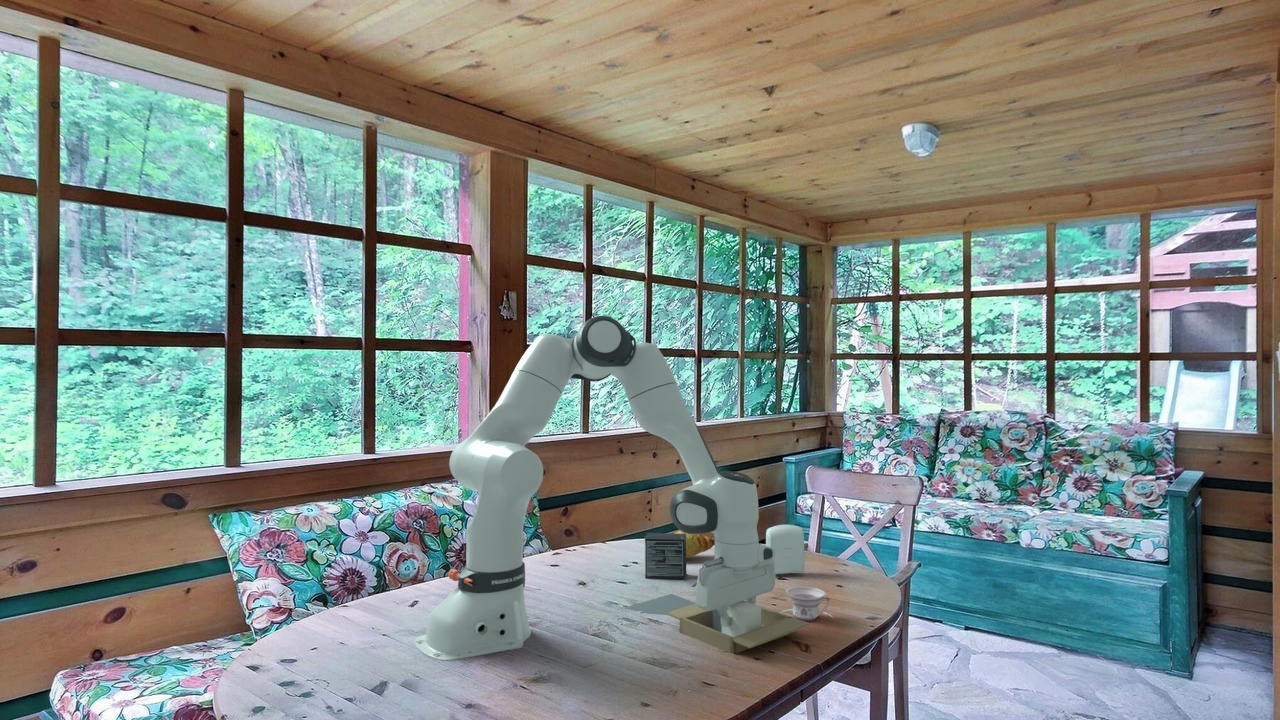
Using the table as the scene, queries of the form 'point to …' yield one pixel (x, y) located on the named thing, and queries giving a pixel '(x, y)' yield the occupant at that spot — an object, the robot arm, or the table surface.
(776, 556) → the photo printer
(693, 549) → the croissant
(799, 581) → the table surface
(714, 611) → the box
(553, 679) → the table surface
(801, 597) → the teacup
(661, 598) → the slate mat
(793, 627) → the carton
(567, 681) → the table surface
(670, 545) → the small box
